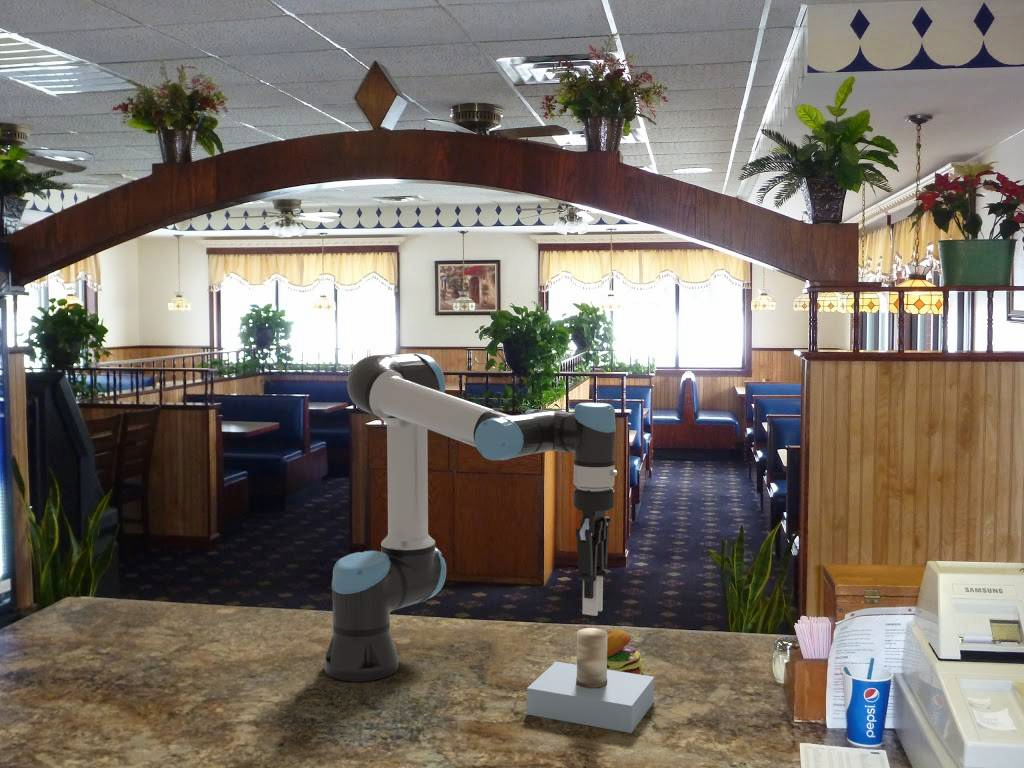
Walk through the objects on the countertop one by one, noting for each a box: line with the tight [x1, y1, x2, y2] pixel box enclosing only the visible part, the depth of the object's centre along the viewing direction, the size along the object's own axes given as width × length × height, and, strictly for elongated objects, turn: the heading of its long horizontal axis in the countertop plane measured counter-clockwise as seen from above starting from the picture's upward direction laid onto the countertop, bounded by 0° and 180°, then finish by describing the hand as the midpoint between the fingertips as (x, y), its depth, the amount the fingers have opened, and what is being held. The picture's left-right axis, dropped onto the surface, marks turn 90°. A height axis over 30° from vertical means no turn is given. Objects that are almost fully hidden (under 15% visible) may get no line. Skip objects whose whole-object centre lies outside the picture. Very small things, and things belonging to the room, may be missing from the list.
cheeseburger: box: [606, 629, 645, 675], centre depth 207 cm, size 10×11×10 cm
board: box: [526, 661, 655, 734], centre depth 189 cm, size 20×15×5 cm
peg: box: [576, 627, 608, 689], centre depth 188 cm, size 6×6×14 cm
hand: (592, 611), depth 188 cm, fingers open, 2 cm apart
